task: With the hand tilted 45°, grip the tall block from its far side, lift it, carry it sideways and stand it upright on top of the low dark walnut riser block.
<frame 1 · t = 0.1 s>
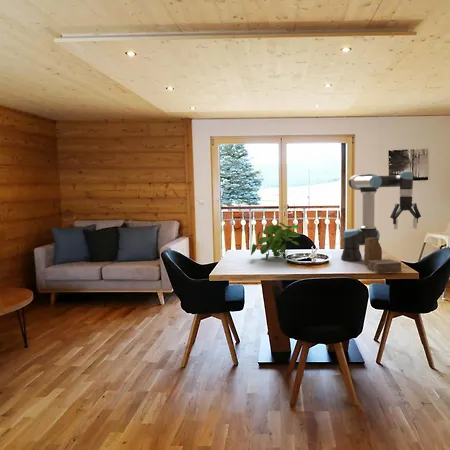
hand: (405, 228, 266), 28 cm above the table, tool pointing down, fingers open, 13 cm apart
riser: (383, 270, 272), on the table
indoor plant: (277, 259, 323), on the table
block: (373, 266, 288), on the table
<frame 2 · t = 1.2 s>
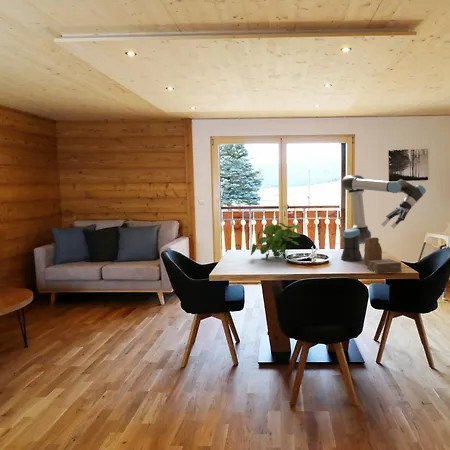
hand: (387, 226, 287), 28 cm above the table, tool tilted 45°, fingers open, 13 cm apart
nothing on the table moved.
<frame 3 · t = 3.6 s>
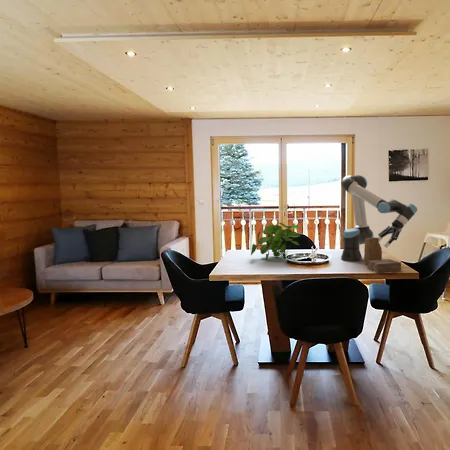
hand: (379, 245, 286), 15 cm above the table, tool tilted 45°, fingers open, 13 cm apart
nothing on the table moved.
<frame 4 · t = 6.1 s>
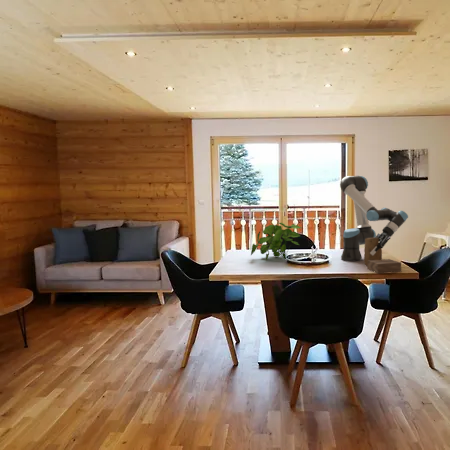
hand: (368, 253, 287), 9 cm above the table, tool tilted 45°, fingers closed on block, 7 cm apart
block: (373, 266, 288), on the table, touching gripper
everything else where it was.
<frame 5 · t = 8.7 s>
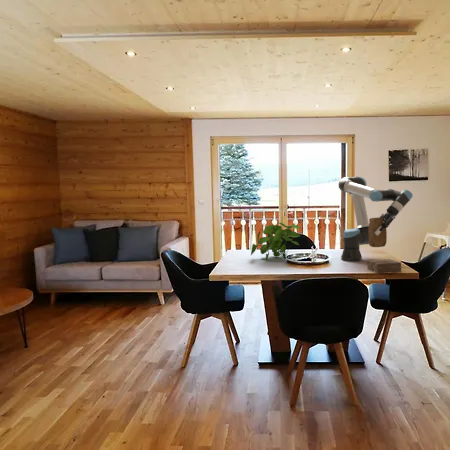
hand: (372, 233, 280), 24 cm above the table, tool tilted 45°, fingers closed on block, 7 cm apart
block: (377, 246, 282), point 14 cm above the table, touching gripper
everything else where it was.
when the fingers open (16 cm above the table, at t = 11.2 s): block drops 1 cm, resting on riser.
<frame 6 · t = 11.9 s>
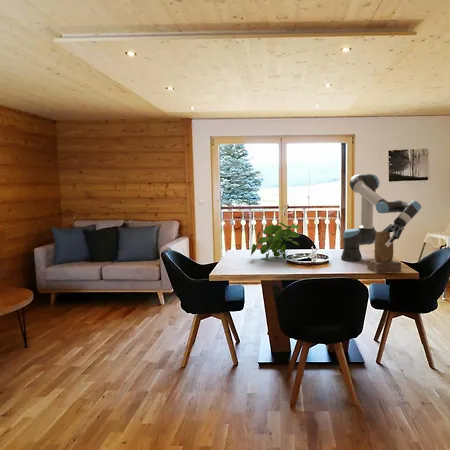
hand: (380, 244, 270), 18 cm above the table, tool tilted 45°, fingers open, 13 cm apart
block: (383, 261, 272), point 6 cm above the table, touching riser
everything else where it was.
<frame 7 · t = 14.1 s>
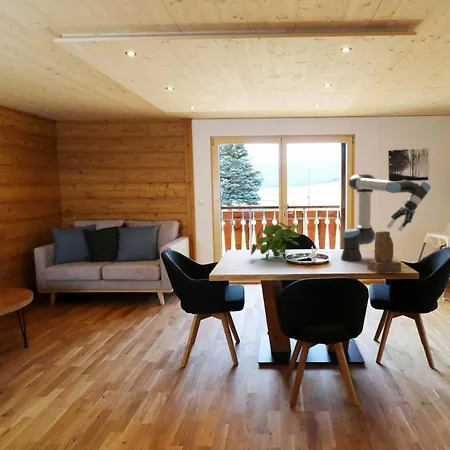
hand: (393, 228, 274), 27 cm above the table, tool tilted 40°, fingers open, 13 cm apart
nothing on the table moved.
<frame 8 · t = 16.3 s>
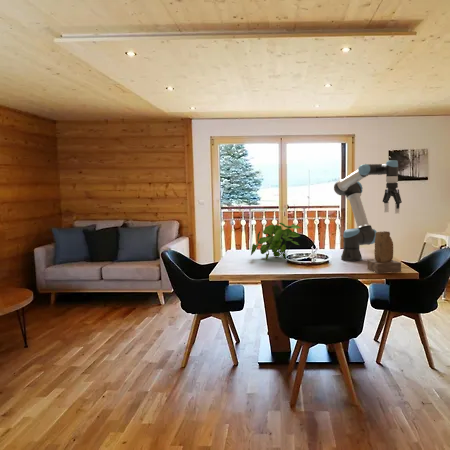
hand: (391, 212, 289), 37 cm above the table, tool pointing down, fingers open, 13 cm apart
nothing on the table moved.
at the end: block inside the target area on the riser (0.1 cm from its centre), point 5.8 cm above the riser's base; block tilted 0°; the gripper is holding nothing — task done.
